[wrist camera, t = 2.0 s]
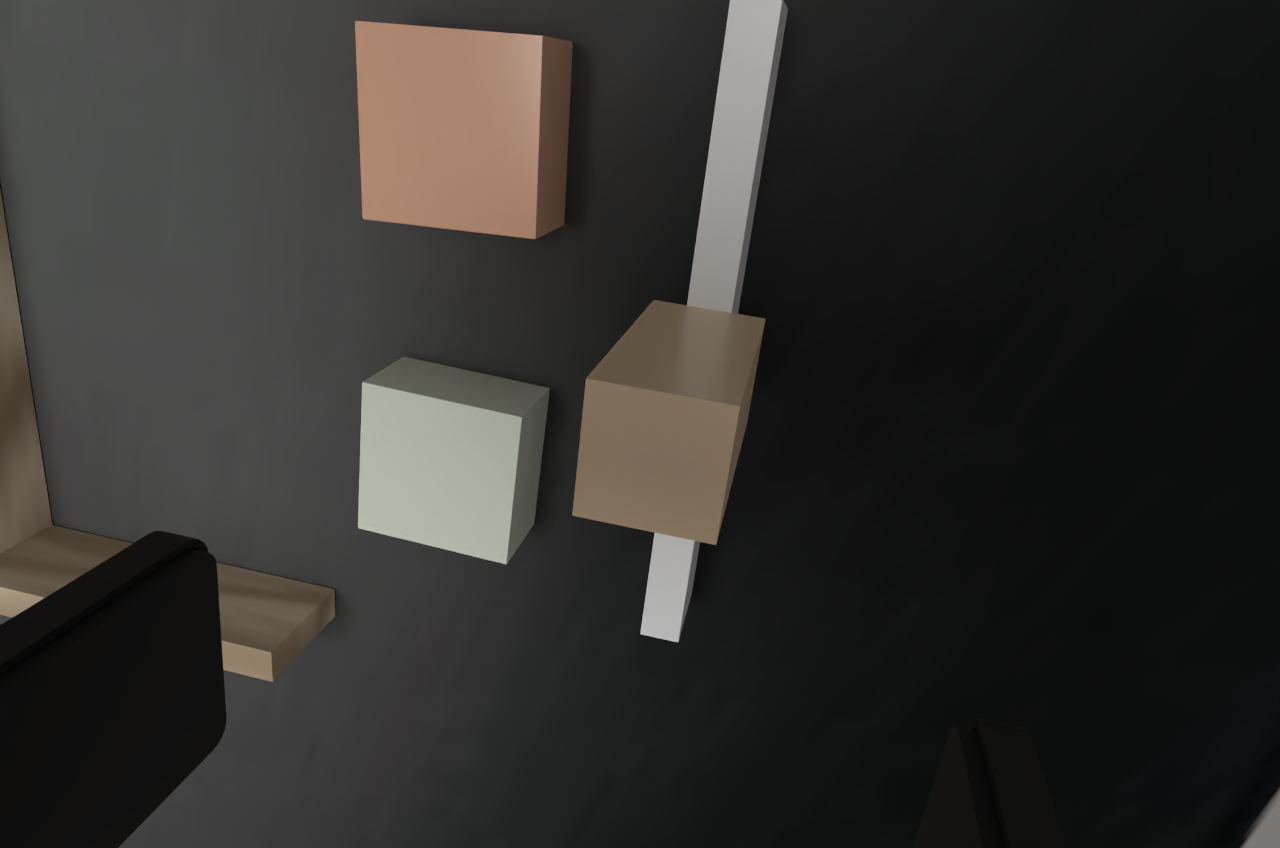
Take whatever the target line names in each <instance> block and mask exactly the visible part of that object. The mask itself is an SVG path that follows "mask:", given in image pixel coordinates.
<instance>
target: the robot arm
mask: <svg viewBox="0 0 1280 848" xmlns="http://www.w3.org/2000/svg"><path fill="white" fill-rule="evenodd" d="M225 726H226V704H225V688H224V672H223V656H222V640H221V624H220V607H219V591H218V575H217V564H216V560H215V558H214V556H213V555H211V554H209V553H208V548H207V547H206V545H205V543H204V542H202V541H200V540H199V539H195V538H190V537H186V536H181V535H177V534H173V533H168V532H164V531H155V532H152V533H150V534H148V535H146V536H145V537H143V538H141V539H140V540H138V541H136V542H135V543H133V544H132V545H130V546H128V547H127V548H125V549H123V550H122V551H120V552H119V553H117V554H115V555H114V556H112V557H110V558H109V559H107V560H106V561H104V562H102V563H101V564H99V565H97V566H96V567H94V568H92V569H91V570H89V571H88V572H86V573H84V574H83V575H81V576H79V577H78V578H76V579H75V580H73V581H71V582H70V583H68V584H66V585H65V586H63V587H62V588H60V589H58V590H57V591H55V592H53V593H52V594H50V595H49V596H47V597H45V598H44V599H42V600H40V601H39V602H37V603H35V604H34V605H32V606H31V607H29V608H27V609H26V610H24V611H22V612H21V613H19V614H18V615H16V616H14V617H13V618H11V619H9V620H8V621H6V622H5V623H3V624H1V625H0V848H118V847H119V846H120V845H121V844H122V843H123V842H124V841H125V840H126V839H127V838H128V837H129V836H130V835H131V834H132V833H133V832H134V831H135V830H136V829H137V828H138V827H139V826H140V825H141V824H142V823H143V822H144V821H145V820H146V819H147V817H148V816H149V815H150V814H151V813H152V812H153V811H154V810H155V809H156V808H157V807H158V806H159V805H160V804H161V803H162V802H163V801H164V800H165V799H166V798H167V797H168V796H169V795H170V794H171V793H172V792H173V791H174V790H175V789H176V788H177V787H178V786H179V785H180V784H181V783H182V782H183V781H184V780H185V778H186V777H187V776H188V775H189V774H190V773H191V772H192V771H193V770H194V769H195V768H196V767H197V766H198V765H199V764H200V763H201V762H202V761H203V760H204V759H205V758H206V757H207V756H208V755H209V754H210V753H211V752H212V751H213V750H214V748H215V747H216V746H217V745H218V743H219V741H220V739H221V738H222V735H223V733H224V730H225ZM914 848H1066V846H1065V843H1064V840H1063V837H1062V834H1061V830H1060V827H1059V824H1058V821H1057V818H1056V815H1055V811H1054V808H1053V805H1052V802H1051V799H1050V796H1049V793H1048V789H1047V786H1046V783H1045V780H1044V777H1043V774H1042V770H1041V767H1040V764H1039V761H1038V758H1037V755H1036V752H1035V748H1034V745H1033V742H1032V739H1031V736H1030V734H1029V732H1028V731H1027V730H1026V729H1024V728H1020V727H1016V726H1011V725H1007V724H1003V723H998V722H994V721H989V720H985V719H981V718H973V719H972V720H971V722H970V723H969V725H968V728H967V729H966V728H962V727H957V726H954V727H952V729H951V730H950V733H949V736H948V739H947V742H946V745H945V748H944V751H943V755H942V758H941V761H940V764H939V767H938V771H937V774H936V777H935V780H934V784H933V787H932V790H931V793H930V796H929V800H928V803H927V806H926V809H925V812H924V816H923V819H922V822H921V825H920V828H919V832H918V835H917V838H916V841H915V845H914Z"/></svg>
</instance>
